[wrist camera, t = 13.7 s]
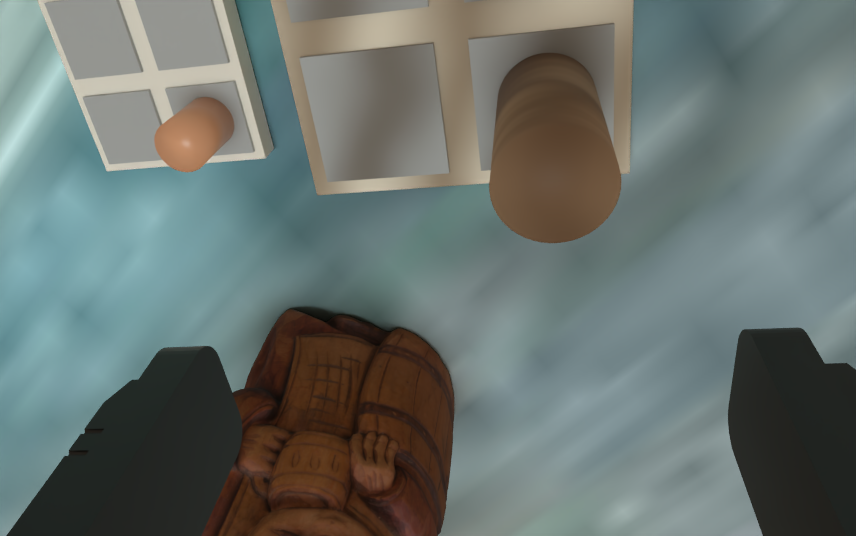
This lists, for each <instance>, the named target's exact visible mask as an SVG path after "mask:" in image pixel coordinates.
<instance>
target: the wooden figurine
mask: <svg viewBox="0 0 856 536" xmlns="http://www.w3.org/2000/svg"><path fill="white" fill-rule="evenodd" d="M232 394H233V396H234V399H235V402H236V404H237V407H238V410H239V412H240V416H241V420H242V442H241V447H240V450H239V453H238V456H237V458H236V460H235V462H234V465H233V467H232V469H231V471H230V473H229V476H228V478H227V480H226V482H225V485H224V487H223V489H222V491H221V493H220V496H219V498H218V500H217V502H216V505H215V507H214V509H213V511H212V513H211V516H210V518H209V520H208V522H207V525H206V527H205V529H204V531H203V533H202V536H438V534H440V532H441V528H442V525H443V520H444V514H445V509H446V500H447V490H448V484H449V476H450V466H451V456H452V443H453V422H454V394H453V389H452V384H451V380H450V375H449V373H448V371H447V369H446V368H445V366H444V365H443V363H442V361H441V359H440V357H439V356H438V354H437V353H436V352H435V351H434V350H433V349H432V348H431V347H430V346H429V345H428V344H427V343H426V342H424V341H423V340H422V339H421V338H419V337H418V336H417V335H415V334H413V333H411V332H409V331H407V330H404V329H401V328H398V329H395V330H393V331H392V332H386V331H383V330H381V329H379V328H377V327H375V326H374V325H372V324H370V323H368V322H361V321H359V320H357V319H355V318H352V317H350V316H346V315H336V316H334V317H333V318H331V319H330V320H329V321H327V322H326V323H325V322H324V321H322V320H319V319H317V318H314V317H311V316H309V315H307V314H305V313H303V312H298V311H296V310H293V309H289V310H287V311H286V312H285V313H284V314H282V315H281V316H280V317H279V319H278V320H277V322H276V323H275V325H274V326H273V328H272V329H271V331H270V332H269V334H268V336H267V338H266V340H265V342H264V344H263V346H262V348H261V350H260V352H259V354H258V356H257V358H256V360H255V362H254V364H253V366H252V368H251V371H250V373H249V375H248V378H247V382H246V385H245V388H244V389H240V390H238V391H235V392H233V393H232Z"/></svg>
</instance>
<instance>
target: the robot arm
mask: <svg viewBox="0 0 856 536" xmlns="http://www.w3.org/2000/svg"><path fill="white" fill-rule="evenodd" d="M728 425H729V434H730V440H731V445H732V449H733V452H734V455H735V458H736V461H737V464H738V467H739V469H740V472H741V475H742V478H743V481H744V484H745V486H746V489H747V492H748V495H749V498H750V500H751V503H752V506H753V509H754V512H755V514H756V517H757V520H758V523H759V526H760V529H761V531H762V534H763V536H856V370H855V369H854V368H853V367H851V366H850V365H849V364H847V363H835V364H825V363H824V362H823V360H822V358H821V357H820V355H819V353H818V352H817V350H816V348H815V346H814V345H813V343H812V341H811V340H810V338H809V336H808V335H807V333H806V332H805V331H804V330H803V329H801V328H772V329H744V330H742V332H741V333H740V335H739V339H738V344H737V351H736V358H735V366H734V373H733V380H732V387H731V394H730V401H729V409H728ZM241 442H242V420H241V416H240V412H239V410H238V407H237V404H236V402H235V399H234V396H233V394H232V391H231V388H230V385H229V383H228V380H227V377H226V375H225V372H224V369H223V367H222V364H221V361H220V359H219V356H218V354H217V352H216V351H215V350H214V349H213V348H212V347H210V346H196V347H167V348H163V349H161V350H160V351H159V352H158V353H157V354H156V355H155V357H154V358H153V359H152V361H151V362H150V364H149V365H148V367H147V368H146V369H145V371H144V372H143V374H142V375H141V377H140V378H139V380H131V381H130V382H129V383H127V384H126V385H125V386H124V387H123V388H121V389H120V390H119V391H118V392H116V393H115V394H114V395H113V396H111V397H110V398H109V399H108V400H106V401H105V402H104V403H103V404H102V406H101V407H100V408H99V410H98V411H97V413H96V414H95V415H94V417H93V418H92V419H91V421H90V422H89V424H88V425H87V426H86V428H85V433H84V434H80V436H79V437H78V439H77V440H76V441H75V443H74V444H73V445H72V447H71V448H70V450H69V455H68V456H64V458H63V459H62V460H61V462H60V463H59V465H58V466H57V467H56V469H55V470H54V471H53V473H52V474H51V476H50V477H49V478H48V480H47V481H46V482H45V484H44V485H43V487H42V488H41V489H40V491H39V492H38V493H37V495H36V496H35V497H34V499H33V500H32V502H31V503H30V504H29V506H28V507H27V508H26V510H25V511H24V513H23V514H22V515H21V517H20V518H19V519H18V521H17V522H16V523H15V525H14V526H13V528H12V529H11V530H10V532H9V533H8V534H7V536H202V533H203V531H204V529H205V527H206V525H207V522H208V520H209V518H210V516H211V513H212V511H213V509H214V507H215V505H216V502H217V500H218V498H219V496H220V493H221V491H222V489H223V487H224V485H225V482H226V480H227V478H228V476H229V473H230V471H231V469H232V467H233V465H234V462H235V460H236V458H237V456H238V453H239V450H240V447H241Z"/></svg>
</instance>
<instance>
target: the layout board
mask: <svg viewBox="0 0 856 536" xmlns="http://www.w3.org/2000/svg"><path fill="white" fill-rule="evenodd" d="M633 1H634V0H271V4H272V8H273V12H274V16H275V20H276V25H277V29H278V33H279V37H280V41H281V46H282V50H283V54H284V58H285V62H286V66H287V71H288V75H289V79H290V83H291V87H292V91H293V96H294V100H295V104H296V108H297V112H298V117H299V121H300V125H301V129H302V133H303V137H304V142H305V146H306V150H307V154H308V158H309V163H310V167H311V171H312V175H313V179H314V183H315V188H316V192H317V195H327V194H341V193H355V192H370V191H384V190H398V189H413V188H427V187H441V186H456V185H470V184H484V183H489V182H490V172H491V161H492V151H493V140H494V130H495V120H496V109H497V99H498V93H499V89H500V86H501V84H502V82H503V80H504V78H505V76H506V75H507V74H508V72H509V71H510V70H511V69H512V68H513V67H514V66H515V65H516V64H518V63H519V62H521V61H522V60H524V59H526V58H528V57H530V56H533V55H536V54H541V53H559V54H563V55H566V56H569V57H571V58H573V59H575V60H576V61H578V62H579V63H581V64H582V65H583V66H584V67H585V68H586V69H587V71H588V72H589V73H590V75H591V77H592V79H593V81H594V84H595V87H596V90H597V94H598V97H599V100H600V104H601V107H602V110H603V114H604V117H605V120H606V124H607V127H608V131H609V134H610V137H611V141H612V144H613V147H614V151H615V154H616V157H617V161H618V164H619V168H620V172H621V174H627V173H630V131H631V87H632V44H633Z"/></svg>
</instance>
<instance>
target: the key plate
mask: <svg viewBox="0 0 856 536" xmlns="http://www.w3.org/2000/svg"><path fill="white" fill-rule="evenodd" d="M37 1H38V3H39V6H40V8H41V11H42V13H43V16H44V18H45V20H46V23H47V25H48V28H49V30H50V33H51V35H52V38H53V40H54V42H55V45H56V47H57V50H58V52H59V55H60V57H61V60H62V62H63V65H64V67H65V69H66V72H67V74H68V77H69V79H70V82H71V84H72V87H73V89H74V91H75V94H76V96H77V99H78V101H79V104H80V106H81V109H82V111H83V114H84V116H85V118H86V121H87V123H88V126H89V128H90V131H91V133H92V136H93V138H94V140H95V143H96V145H97V148H98V150H99V153H100V155H101V158H102V160H103V163H104V165H105V167H106V170H107V171H115V170H128V169H140V168H152V167H165V166H170V167H172V168H173V169H175V170H178V171H182V172H193V171H196V170H198V169H200V168H201V167H202V166H203V165H204V164H205V163H214V162H227V161H239V160H251V159H264V158H266V157H267V156H268V155H269V154H270V153H271V151H272V150H273V149H274V146H273V143H272V139H271V135H270V131H269V127H268V124H267V120H266V116H265V112H264V109H263V105H262V101H261V97H260V94H259V90H258V86H257V82H256V78H255V75H254V71H253V67H252V63H251V60H250V56H249V52H248V48H247V45H246V41H245V37H244V33H243V29H242V26H241V22H240V18H239V14H238V11H237V7H236V3H235V0H37Z"/></svg>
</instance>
